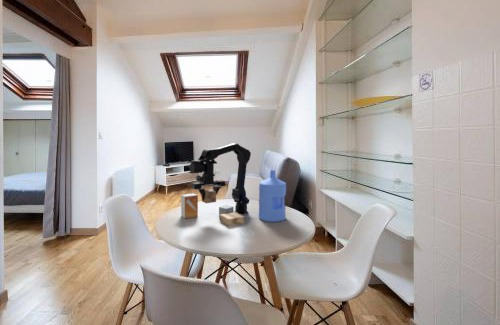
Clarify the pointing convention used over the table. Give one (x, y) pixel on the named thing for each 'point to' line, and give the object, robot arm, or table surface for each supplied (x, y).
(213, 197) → the walnut cube
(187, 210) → the small box
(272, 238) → the table surface
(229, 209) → the slate cube
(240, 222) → the oak slab
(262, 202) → the water jug
